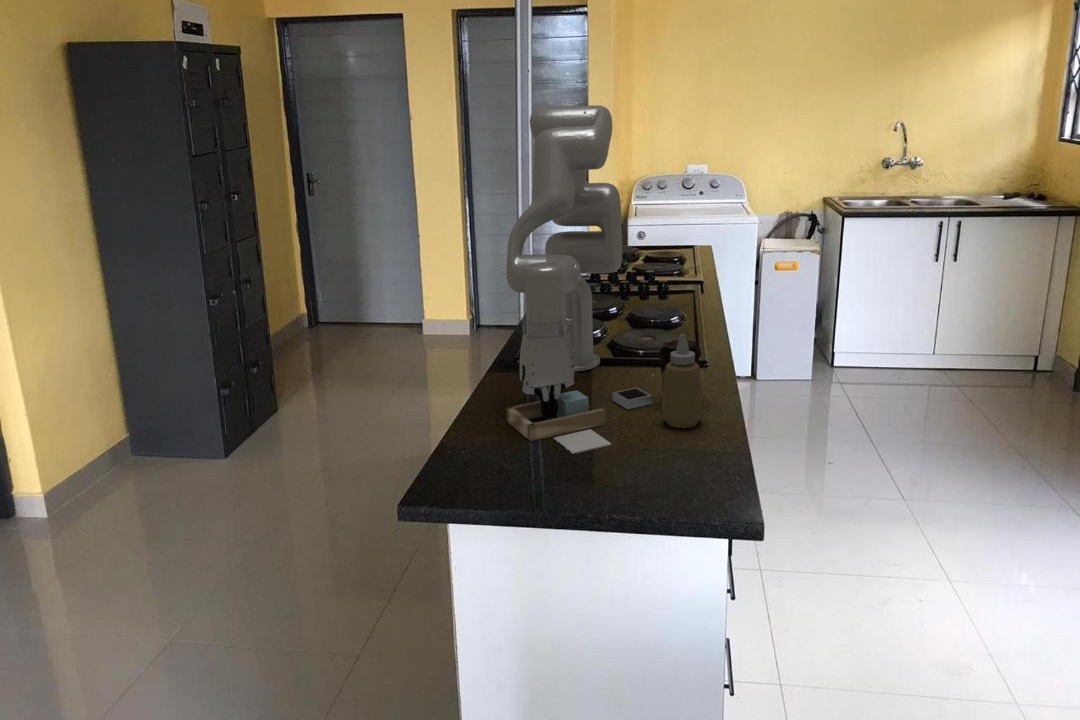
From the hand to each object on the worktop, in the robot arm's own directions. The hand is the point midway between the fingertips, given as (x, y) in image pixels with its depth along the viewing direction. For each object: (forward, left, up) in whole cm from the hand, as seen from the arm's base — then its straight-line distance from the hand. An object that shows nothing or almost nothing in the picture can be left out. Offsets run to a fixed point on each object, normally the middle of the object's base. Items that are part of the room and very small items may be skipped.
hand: (549, 417), depth 171 cm
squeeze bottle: (+13, +22, -2) cm, 26 cm away
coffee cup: (+4, +28, -2) cm, 28 cm away
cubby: (0, +2, -2) cm, 2 cm away
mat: (+11, +1, -2) cm, 11 cm away
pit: (-2, +20, -2) cm, 20 cm away
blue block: (0, +5, -2) cm, 5 cm away
